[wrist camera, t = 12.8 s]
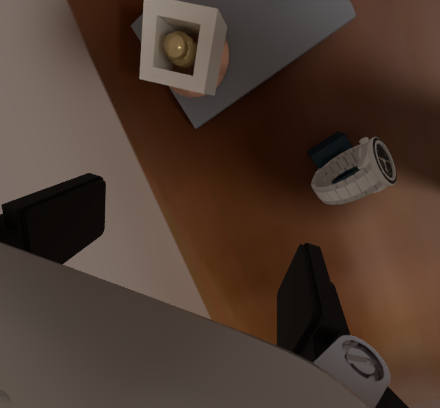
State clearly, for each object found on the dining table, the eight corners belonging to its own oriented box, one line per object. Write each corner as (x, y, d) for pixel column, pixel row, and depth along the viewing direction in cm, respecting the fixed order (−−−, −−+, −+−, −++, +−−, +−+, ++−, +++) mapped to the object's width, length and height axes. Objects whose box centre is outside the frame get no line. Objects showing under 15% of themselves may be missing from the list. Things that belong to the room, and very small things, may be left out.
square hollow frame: (167, 14, 27) (144, -6, 22) (227, 26, 27) (217, 8, 22) (160, 83, 30) (139, 78, 25) (214, 95, 30) (203, 93, 25)
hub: (201, -10, 26) (182, -42, 20) (243, 67, 28) (237, 58, 22) (143, 45, 29) (113, 31, 23) (184, 112, 31) (166, 113, 26)
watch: (374, 157, 30) (425, 183, 20) (316, 190, 33) (336, 227, 23) (352, 121, 29) (396, 129, 19) (294, 158, 32) (306, 183, 22)
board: (291, -127, 22) (298, -193, 17) (351, 20, 26) (371, 0, 21) (136, 29, 30) (110, 14, 25) (198, 127, 33) (185, 132, 28)
